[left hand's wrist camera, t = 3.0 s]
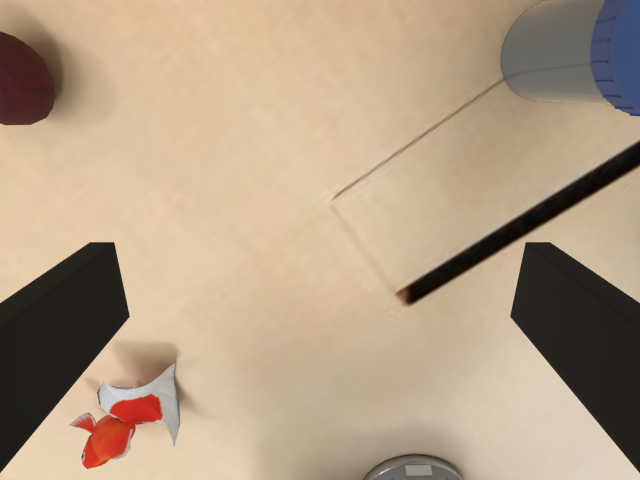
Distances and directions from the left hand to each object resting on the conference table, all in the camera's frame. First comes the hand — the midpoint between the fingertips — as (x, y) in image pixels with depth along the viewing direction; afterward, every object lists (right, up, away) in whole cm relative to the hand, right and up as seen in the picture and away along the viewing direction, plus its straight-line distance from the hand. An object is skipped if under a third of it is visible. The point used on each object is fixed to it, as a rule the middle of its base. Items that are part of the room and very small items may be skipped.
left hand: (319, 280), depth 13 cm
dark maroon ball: (-27, +16, +24) cm, 39 cm away
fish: (-23, -18, +37) cm, 47 cm away
